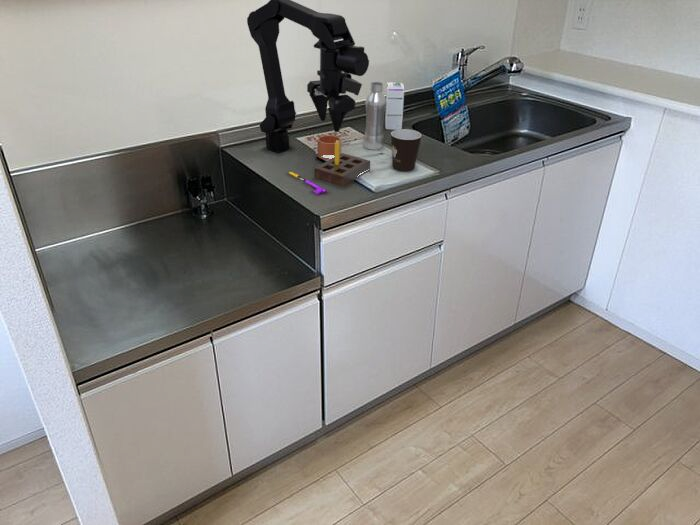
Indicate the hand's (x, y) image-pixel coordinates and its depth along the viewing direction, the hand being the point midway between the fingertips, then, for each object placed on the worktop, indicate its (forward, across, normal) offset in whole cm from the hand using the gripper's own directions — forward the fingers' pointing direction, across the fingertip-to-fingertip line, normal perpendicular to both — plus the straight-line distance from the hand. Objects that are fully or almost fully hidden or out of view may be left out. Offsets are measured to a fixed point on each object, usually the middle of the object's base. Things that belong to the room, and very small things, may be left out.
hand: (329, 126), depth 155 cm
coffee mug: (+13, -6, -21) cm, 25 cm away
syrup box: (+13, +24, -35) cm, 44 cm away
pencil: (+13, -4, 0) cm, 13 cm away
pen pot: (+13, +8, -4) cm, 15 cm away
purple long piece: (+13, -7, +10) cm, 18 cm away
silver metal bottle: (+13, +9, -19) cm, 25 cm away
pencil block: (+13, -6, -2) cm, 14 cm away
